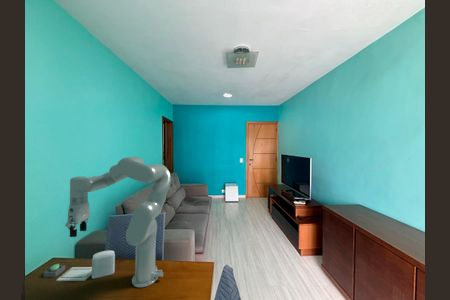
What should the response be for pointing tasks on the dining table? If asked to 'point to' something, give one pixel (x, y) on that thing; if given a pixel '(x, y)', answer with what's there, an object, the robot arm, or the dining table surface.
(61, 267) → the button housing
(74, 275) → the paper board
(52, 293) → the dining table surface
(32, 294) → the dining table surface
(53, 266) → the button
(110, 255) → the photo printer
